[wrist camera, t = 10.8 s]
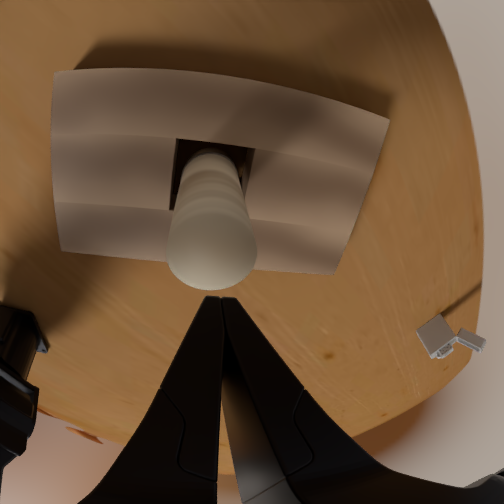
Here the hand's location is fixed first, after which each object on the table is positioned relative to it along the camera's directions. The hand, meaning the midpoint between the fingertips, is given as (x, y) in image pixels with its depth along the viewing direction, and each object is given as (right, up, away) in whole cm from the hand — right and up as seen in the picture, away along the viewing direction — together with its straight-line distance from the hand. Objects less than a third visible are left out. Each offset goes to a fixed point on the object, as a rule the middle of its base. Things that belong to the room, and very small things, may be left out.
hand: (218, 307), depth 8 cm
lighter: (+26, -7, +25) cm, 36 cm away
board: (-2, +7, +10) cm, 13 cm away
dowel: (-2, +7, +10) cm, 13 cm away
